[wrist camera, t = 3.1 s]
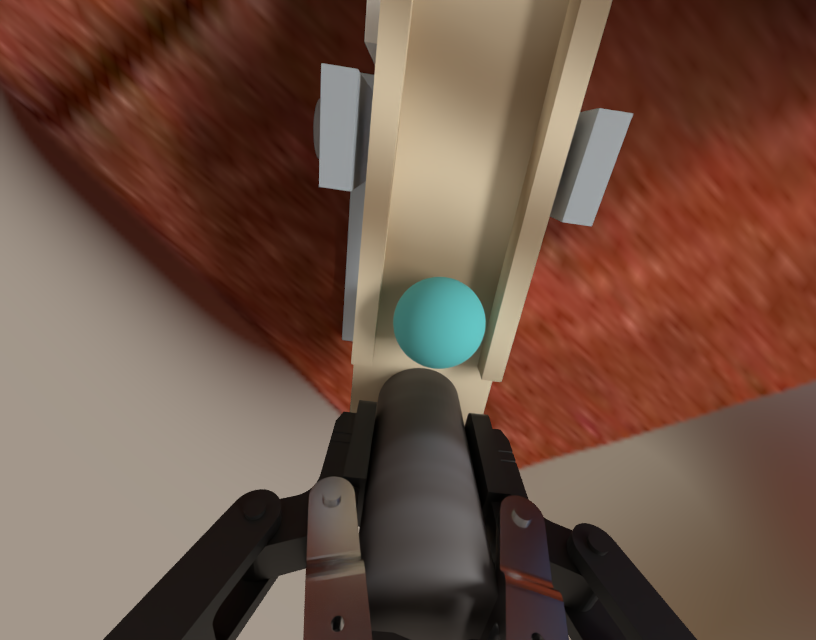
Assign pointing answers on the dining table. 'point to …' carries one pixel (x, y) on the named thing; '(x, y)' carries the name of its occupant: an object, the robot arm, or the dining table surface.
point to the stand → (348, 155)
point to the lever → (453, 271)
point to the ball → (439, 322)
